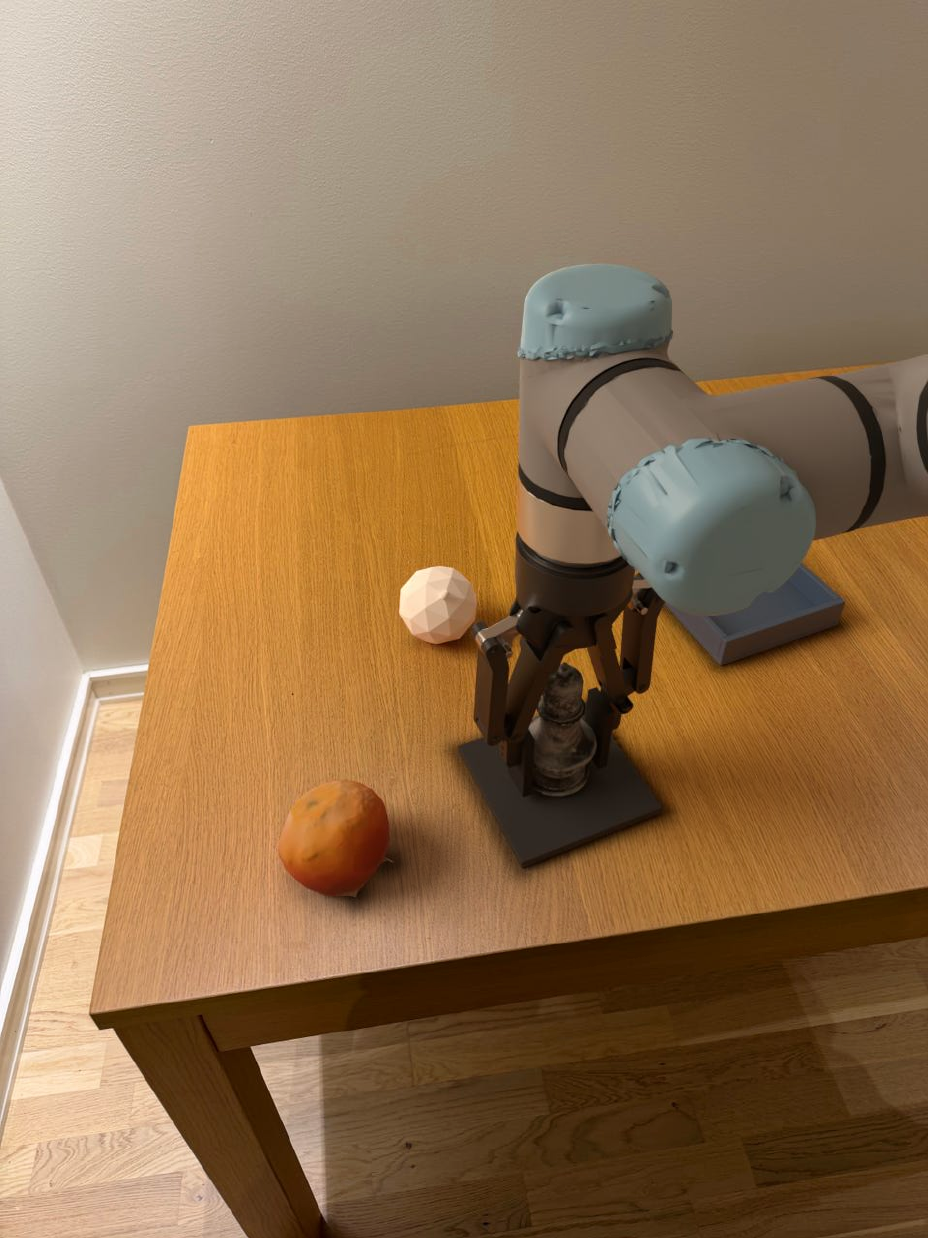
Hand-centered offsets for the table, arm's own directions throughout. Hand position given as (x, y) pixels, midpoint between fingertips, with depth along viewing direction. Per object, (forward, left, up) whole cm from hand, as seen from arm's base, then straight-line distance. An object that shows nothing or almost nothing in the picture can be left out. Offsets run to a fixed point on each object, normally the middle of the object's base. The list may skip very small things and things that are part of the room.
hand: (557, 768), depth 70 cm
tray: (+12, -26, -2) cm, 29 cm away
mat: (0, 0, -2) cm, 2 cm away
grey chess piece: (0, 0, -1) cm, 1 cm away
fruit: (0, +18, -2) cm, 18 cm away
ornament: (+20, +2, -2) cm, 20 cm away
